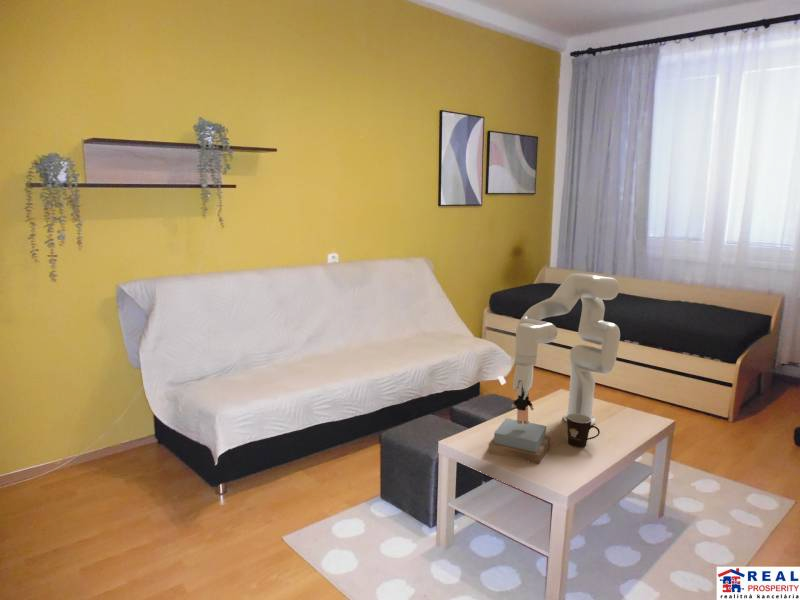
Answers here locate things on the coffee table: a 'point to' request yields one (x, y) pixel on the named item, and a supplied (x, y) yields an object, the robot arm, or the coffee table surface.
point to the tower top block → (520, 435)
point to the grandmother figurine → (523, 414)
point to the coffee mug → (579, 429)
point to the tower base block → (520, 451)
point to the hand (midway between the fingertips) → (522, 407)
